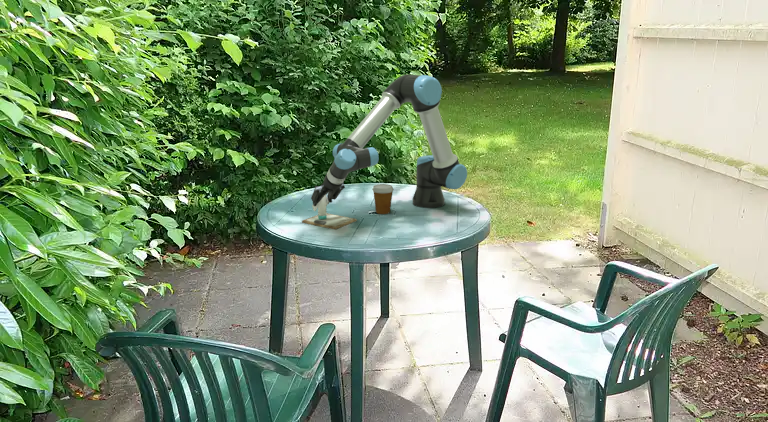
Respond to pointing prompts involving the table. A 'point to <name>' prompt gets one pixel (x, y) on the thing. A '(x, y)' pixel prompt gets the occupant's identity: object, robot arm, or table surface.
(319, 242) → the table surface
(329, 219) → the clipboard
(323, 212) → the ball
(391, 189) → the disposable coffee cup
